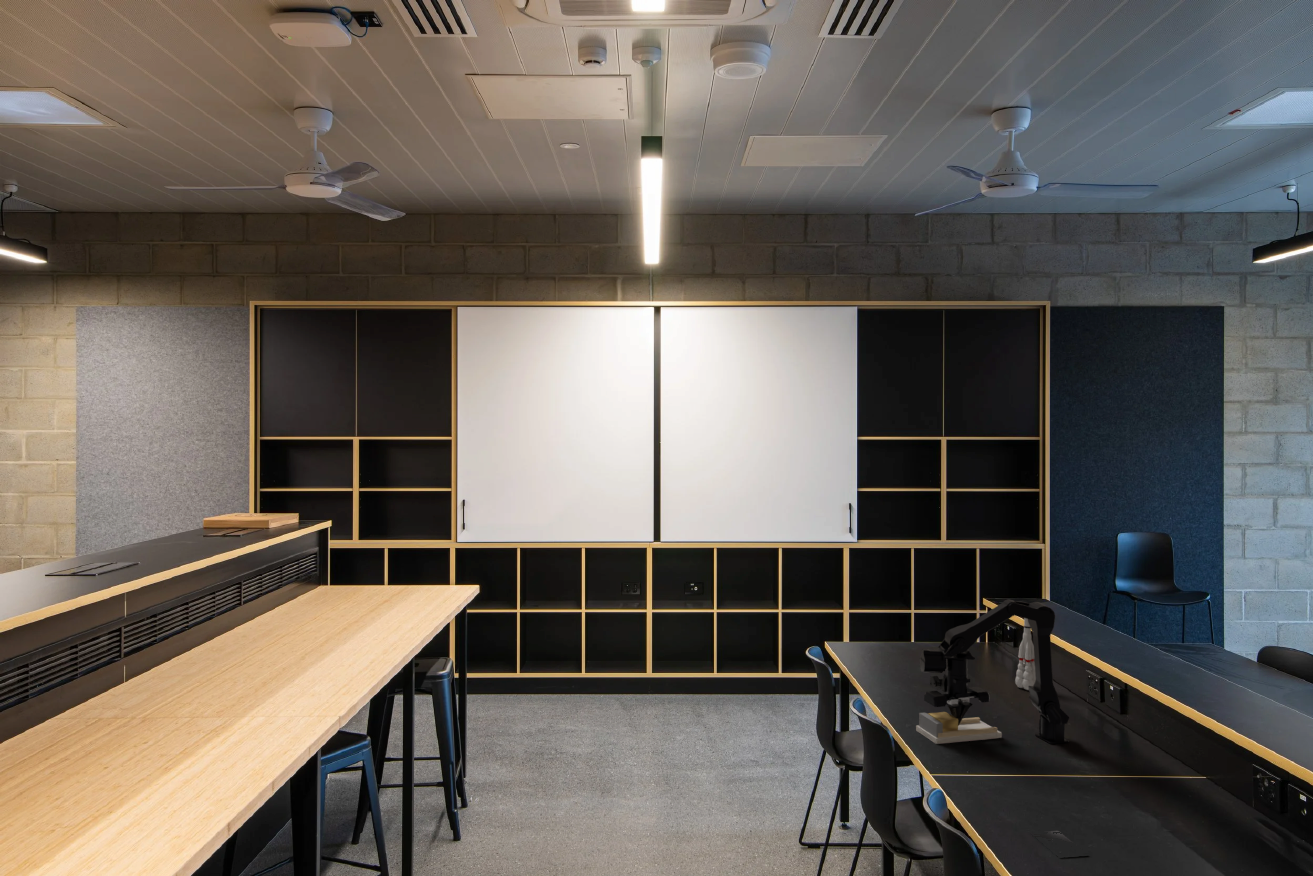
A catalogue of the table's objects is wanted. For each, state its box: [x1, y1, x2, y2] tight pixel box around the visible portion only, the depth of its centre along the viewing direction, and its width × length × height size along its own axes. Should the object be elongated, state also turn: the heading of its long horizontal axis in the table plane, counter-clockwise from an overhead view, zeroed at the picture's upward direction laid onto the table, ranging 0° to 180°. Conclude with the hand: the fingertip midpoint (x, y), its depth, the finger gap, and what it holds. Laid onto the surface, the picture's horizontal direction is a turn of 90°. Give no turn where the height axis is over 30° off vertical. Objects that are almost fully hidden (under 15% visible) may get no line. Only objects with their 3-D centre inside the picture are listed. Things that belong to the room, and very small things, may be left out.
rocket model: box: [1014, 618, 1036, 691], centre depth 268 cm, size 7×7×30 cm
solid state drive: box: [1033, 830, 1082, 849], centre depth 165 cm, size 7×10×1 cm
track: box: [915, 712, 1003, 745], centre depth 225 cm, size 22×10×6 cm, turn 104°
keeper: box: [927, 711, 958, 732], centre depth 224 cm, size 6×6×4 cm
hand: (956, 725), depth 225 cm, fingers closed
